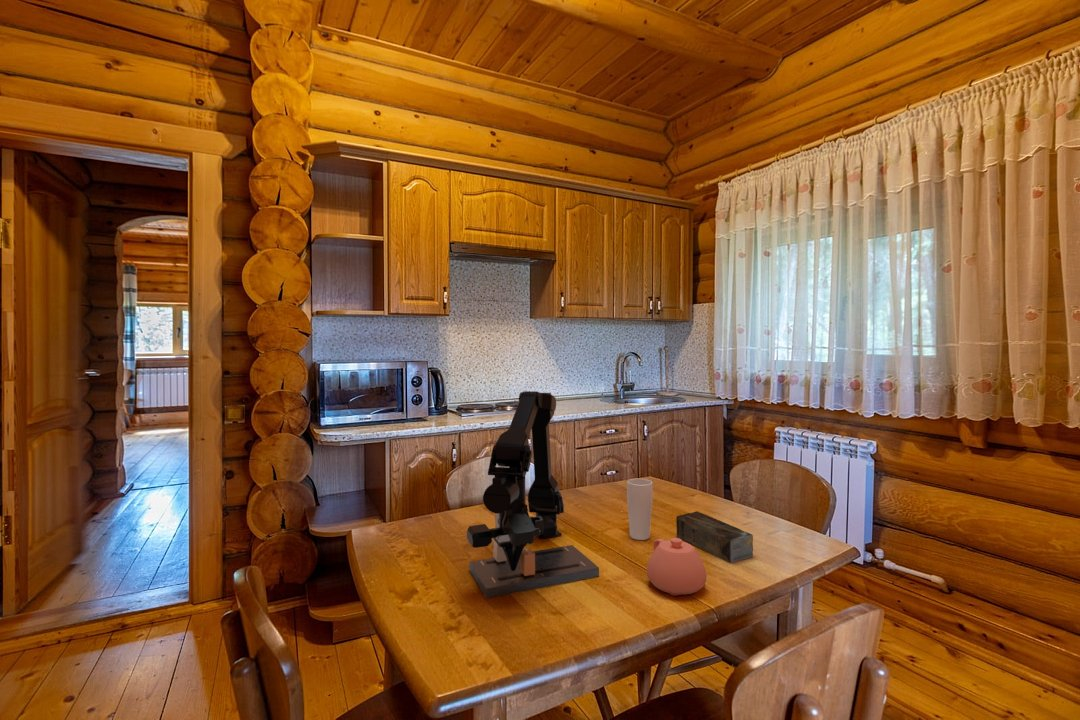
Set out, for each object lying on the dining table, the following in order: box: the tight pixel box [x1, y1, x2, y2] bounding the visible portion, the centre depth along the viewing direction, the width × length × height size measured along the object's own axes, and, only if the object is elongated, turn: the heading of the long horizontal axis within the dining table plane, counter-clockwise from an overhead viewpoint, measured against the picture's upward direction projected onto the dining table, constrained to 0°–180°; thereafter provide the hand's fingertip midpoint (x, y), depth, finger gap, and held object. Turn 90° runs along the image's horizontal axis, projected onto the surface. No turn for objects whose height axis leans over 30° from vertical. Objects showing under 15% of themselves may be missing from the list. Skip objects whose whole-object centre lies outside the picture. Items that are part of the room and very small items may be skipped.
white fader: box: [492, 538, 507, 562], centre depth 120 cm, size 3×2×5 cm
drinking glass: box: [626, 478, 654, 541], centre depth 139 cm, size 7×7×15 cm
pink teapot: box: [646, 537, 707, 597], centre depth 112 cm, size 12×14×10 cm
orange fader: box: [520, 548, 535, 576], centre depth 113 cm, size 3×2×5 cm
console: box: [468, 544, 600, 599], centre depth 118 cm, size 14×26×2 cm, turn 112°
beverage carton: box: [675, 510, 754, 564], centre depth 133 cm, size 8×19×7 cm, turn 27°
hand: (512, 570), depth 112 cm, fingers closed
